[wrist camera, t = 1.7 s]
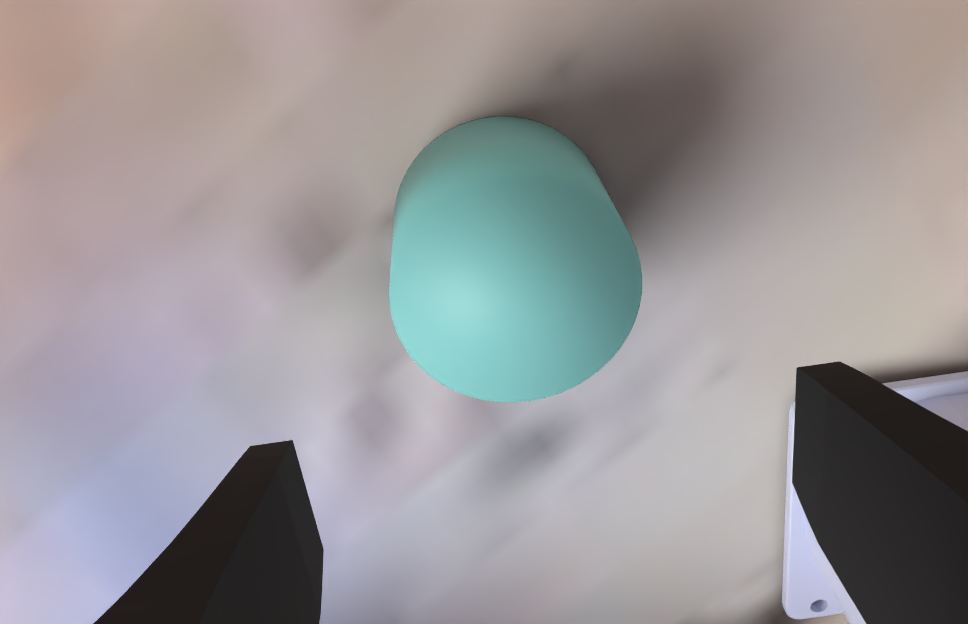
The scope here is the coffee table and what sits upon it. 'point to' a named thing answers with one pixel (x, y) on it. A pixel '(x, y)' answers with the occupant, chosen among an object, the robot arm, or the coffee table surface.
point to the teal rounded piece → (510, 262)
